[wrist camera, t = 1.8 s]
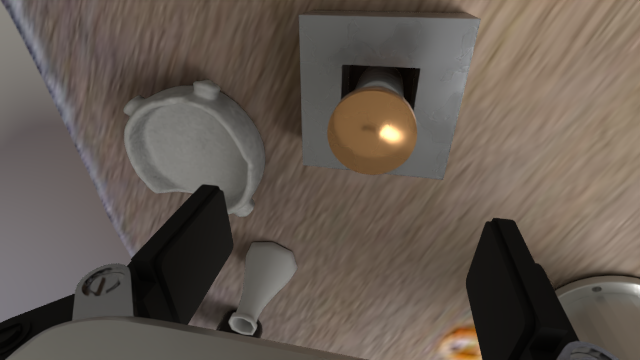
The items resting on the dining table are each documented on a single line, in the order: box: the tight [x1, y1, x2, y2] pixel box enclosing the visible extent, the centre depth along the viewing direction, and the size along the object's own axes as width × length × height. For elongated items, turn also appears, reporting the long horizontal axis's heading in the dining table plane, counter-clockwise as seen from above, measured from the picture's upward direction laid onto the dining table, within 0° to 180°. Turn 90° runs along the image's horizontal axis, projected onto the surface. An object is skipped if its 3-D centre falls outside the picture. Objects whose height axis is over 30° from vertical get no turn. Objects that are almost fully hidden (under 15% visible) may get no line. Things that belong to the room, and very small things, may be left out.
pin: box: [327, 66, 417, 175], centre depth 24 cm, size 5×5×11 cm
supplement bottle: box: [216, 310, 262, 338], centre depth 48 cm, size 7×7×12 cm
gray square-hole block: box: [299, 10, 481, 180], centre depth 27 cm, size 12×12×5 cm
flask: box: [229, 242, 298, 335], centre depth 40 cm, size 7×7×10 cm
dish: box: [124, 80, 265, 217], centre depth 34 cm, size 14×14×5 cm
